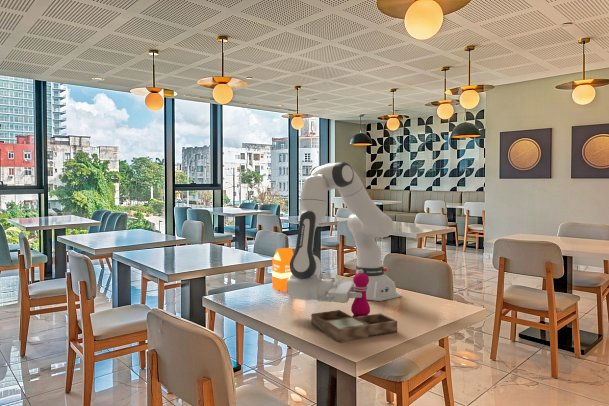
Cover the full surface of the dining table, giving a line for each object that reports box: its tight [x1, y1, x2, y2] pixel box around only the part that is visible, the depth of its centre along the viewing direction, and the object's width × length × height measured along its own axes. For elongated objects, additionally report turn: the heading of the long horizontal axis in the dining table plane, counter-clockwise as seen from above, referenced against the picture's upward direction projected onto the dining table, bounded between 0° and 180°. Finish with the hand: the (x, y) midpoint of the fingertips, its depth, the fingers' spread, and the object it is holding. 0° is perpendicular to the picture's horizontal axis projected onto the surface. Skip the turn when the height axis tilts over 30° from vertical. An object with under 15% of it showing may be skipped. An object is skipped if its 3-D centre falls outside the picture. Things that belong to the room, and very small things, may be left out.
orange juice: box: [271, 247, 294, 292], centre depth 218 cm, size 8×9×20 cm
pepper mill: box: [350, 269, 371, 317], centre depth 168 cm, size 7×7×20 cm
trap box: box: [310, 309, 398, 343], centre depth 160 cm, size 24×20×4 cm
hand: (363, 292), depth 168 cm, fingers open, 5 cm apart
